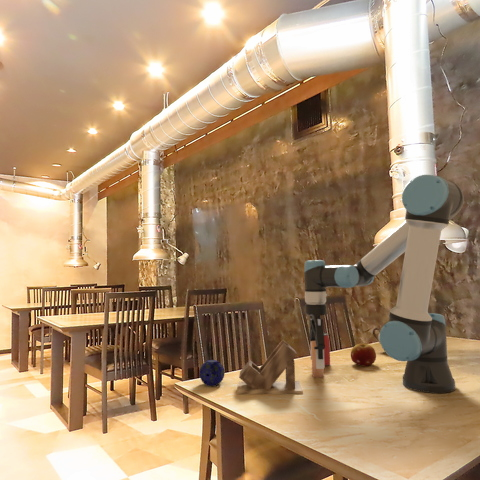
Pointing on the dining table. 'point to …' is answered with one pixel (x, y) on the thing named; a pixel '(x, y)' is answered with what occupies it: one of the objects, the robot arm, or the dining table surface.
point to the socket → (271, 374)
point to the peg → (315, 372)
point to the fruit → (363, 354)
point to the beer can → (326, 350)
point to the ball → (211, 372)
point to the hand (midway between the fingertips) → (317, 363)
